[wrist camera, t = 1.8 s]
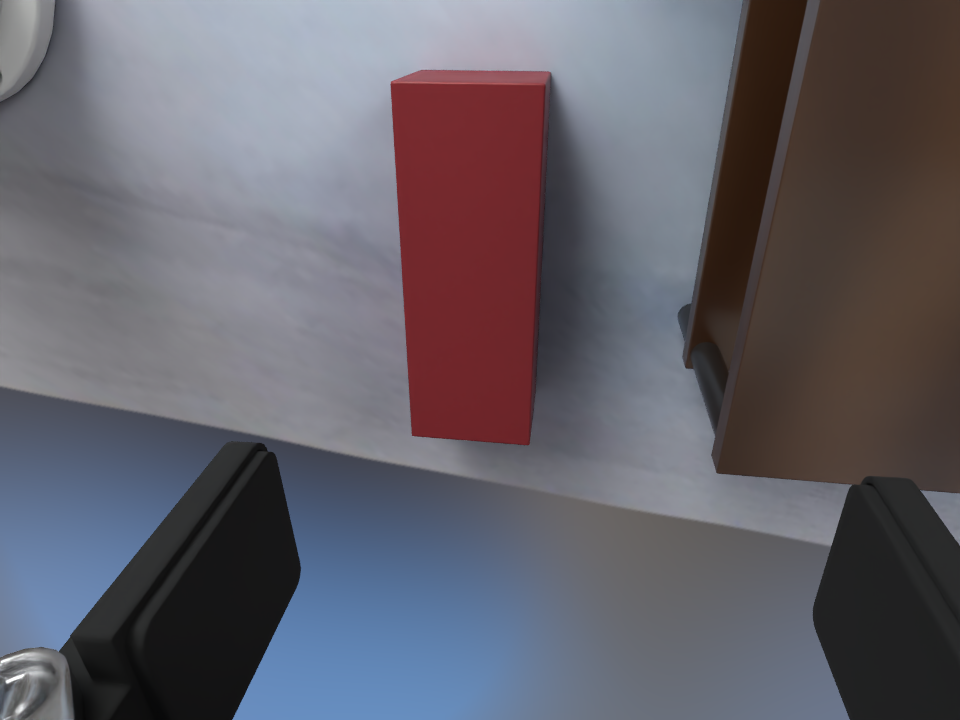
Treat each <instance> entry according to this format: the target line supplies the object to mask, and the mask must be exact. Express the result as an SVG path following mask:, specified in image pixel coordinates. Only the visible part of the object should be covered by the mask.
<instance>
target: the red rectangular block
mask: <svg viewBox="0 0 960 720" xmlns="http://www.w3.org/2000/svg"><path fill="white" fill-rule="evenodd" d="M550 88H551V72H544V71H458V70H420V71H418V72H415V73H412V74H410V75H407V76H404V77H402V78H399V79H397V80H394V81H392V82H391V99H392V115H393V132H394V148H395V165H396V181H397V198H398V214H399V231H400V247H401V264H402V280H403V297H404V313H405V329H406V346H407V362H408V379H409V395H410V412H411V428H412V436H418V437H430V438H443V439H455V440H468V441H480V442H493V443H505V444H518V445H529V444H530V437H531V428H532V419H533V411H534V402H535V393H536V376H537V356H538V335H539V314H540V294H541V273H542V253H543V232H544V211H545V191H546V170H547V150H548V129H549V108H550Z"/></svg>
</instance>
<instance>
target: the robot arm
mask: <svg viewBox="0 0 960 720" xmlns="http://www.w3.org/2000/svg"><path fill="white" fill-rule="evenodd" d="M54 9H55V0H0V102H1V101H3V100H5V99H6V98H8V97H10V96H12V95H14V94H16V93H18V92H19V91H20V90H21V89H22V88H23V87H24V86H25V85H26V84H27V83H28V82H29V81H30V80H31V79H32V78H33V76H34V75H35V73H36V71H37V70H38V68H39V66H40V64H41V63H42V61H43V59H44V58H45V55H46V52H47V48H48V45H49V42H50V38H51V35H52V31H53V20H54ZM300 571H301V567H300V561H299V556H298V552H297V547H296V543H295V538H294V534H293V529H292V525H291V520H290V516H289V511H288V507H287V502H286V498H285V494H284V489H283V485H282V480H281V476H280V472H279V467H278V463H277V459H276V456H275V454H274V453H273V452H268V451H267V448H266V447H265V445H264V444H262V443H252V442H233V441H231V442H228V443H226V444H225V445H224V446H223V448H222V449H221V450H220V451H219V453H218V454H217V455H216V456H215V457H214V459H213V460H212V461H211V462H210V464H209V465H208V466H207V467H206V468H205V470H204V471H203V472H202V473H201V475H200V476H199V477H198V478H197V480H196V481H195V482H194V483H193V485H192V486H191V487H190V488H189V489H188V491H187V492H186V493H185V494H184V496H183V497H182V498H181V499H180V501H179V502H178V503H177V504H176V505H175V507H174V508H173V509H172V510H171V512H170V513H169V514H168V515H167V517H166V518H165V519H164V520H163V522H162V523H161V524H160V525H159V526H158V528H157V529H156V530H155V531H154V533H153V534H152V535H151V536H150V538H149V539H148V540H147V541H146V543H145V544H144V545H143V546H142V547H141V549H140V550H139V551H138V552H137V554H136V555H135V556H134V557H133V559H132V560H131V561H130V562H129V564H128V565H127V566H126V567H125V568H124V570H123V571H122V572H121V574H120V575H119V576H118V577H117V578H116V580H115V581H114V582H113V583H112V585H111V586H110V587H109V588H108V589H107V591H106V592H105V593H104V594H103V596H102V597H101V598H100V599H99V601H98V602H97V603H96V604H95V605H94V607H93V608H92V609H91V610H90V612H89V613H88V614H87V615H86V617H85V618H84V619H83V620H82V622H81V623H80V624H79V625H78V627H77V628H76V629H75V630H74V632H73V633H72V634H71V635H70V638H69V639H68V641H67V642H66V643H65V644H64V646H63V647H62V648H61V649H60V651H59V652H58V651H57V650H54V649H49V648H44V647H39V648H28V649H23V650H20V651H17V652H14V653H10V654H7V655H5V656H3V657H1V658H0V720H232V719H233V717H234V715H235V713H236V711H237V709H238V707H239V705H240V703H241V701H242V699H243V697H244V695H245V693H246V690H247V688H248V686H249V684H250V682H251V680H252V678H253V676H254V674H255V672H256V670H257V668H258V666H259V664H260V662H261V660H262V658H263V655H264V653H265V651H266V649H267V647H268V645H269V643H270V641H271V639H272V637H273V635H274V633H275V631H276V629H277V627H278V624H279V623H280V621H281V618H282V616H283V614H284V612H285V610H286V608H287V606H288V604H289V602H290V600H291V598H292V596H293V594H294V592H295V590H296V588H297V585H298V582H299V578H300ZM813 621H814V626H815V629H816V633H817V635H818V638H819V640H820V643H821V646H822V648H823V651H824V653H825V656H826V659H827V661H828V664H829V666H830V669H831V672H832V674H833V677H834V679H835V682H836V685H837V687H838V690H839V693H840V695H841V698H842V700H843V703H844V705H845V708H846V711H847V713H848V716H849V719H850V720H960V546H959V544H958V543H957V541H956V540H955V539H954V537H953V536H952V534H951V533H950V532H949V530H948V529H947V527H946V526H945V525H944V523H943V522H942V520H941V519H940V518H939V516H938V515H937V513H936V512H935V510H934V509H933V508H932V506H931V505H930V503H929V502H928V501H927V499H926V498H925V496H924V495H923V494H922V492H921V491H920V489H919V488H918V487H917V485H916V484H915V483H914V482H913V481H912V480H911V479H908V478H898V477H880V476H867V477H865V478H864V479H863V480H862V482H861V484H860V485H852V486H851V487H850V489H849V491H848V494H847V497H846V500H845V504H844V507H843V510H842V513H841V517H840V520H839V523H838V527H837V530H836V533H835V537H834V540H833V543H832V546H831V550H830V553H829V556H828V560H827V563H826V566H825V569H824V573H823V576H822V579H821V583H820V586H819V589H818V593H817V596H816V599H815V602H814V607H813Z"/></svg>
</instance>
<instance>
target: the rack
mask: <svg viewBox="0 0 960 720" xmlns="http://www.w3.org/2000/svg"><path fill="white" fill-rule="evenodd" d="M678 321H679V324H680V327H681V331H682V334H683V337H684V340H685V345H684V351H683V361H684V364H685V367H686V368H688V369H694V371H695V375H696V378H697V381H698V384H699V387H700V390H701V393H702V397H703V400H704V403H705V406H706V409H707V412H708V415H709V419H710V422H711V425H712V428H713V431H714V434H715V440H714V445H713V450H712V454H711V456H712V459H713V462H714V466H715V469H716V473H718V474H730V475H742V476H755V477H767V478H779V479H791V480H803V481H816V482H828V483H840V484H852V485H860V484H861V482H862V480H863V479H864V478H865V477H867V476H880V477H898V478H908V479H911V480H912V481H913V482H914V483H915V484H916V485H917V487H918V488H919V489H920V490H925V491H937V492H949V493H960V0H743V4H742V10H741V16H740V22H739V28H738V33H737V39H736V45H735V51H734V57H733V63H732V69H731V75H730V80H729V86H728V92H727V98H726V104H725V110H724V116H723V122H722V127H721V133H720V139H719V145H718V151H717V157H716V163H715V169H714V174H713V180H712V186H711V192H710V198H709V204H708V210H707V216H706V221H705V227H704V233H703V239H702V245H701V251H700V257H699V263H698V268H697V274H696V280H695V286H694V292H693V298H692V304H687V305H685V306H683V307H682V308H681V309H680V310H679V312H678Z"/></svg>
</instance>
